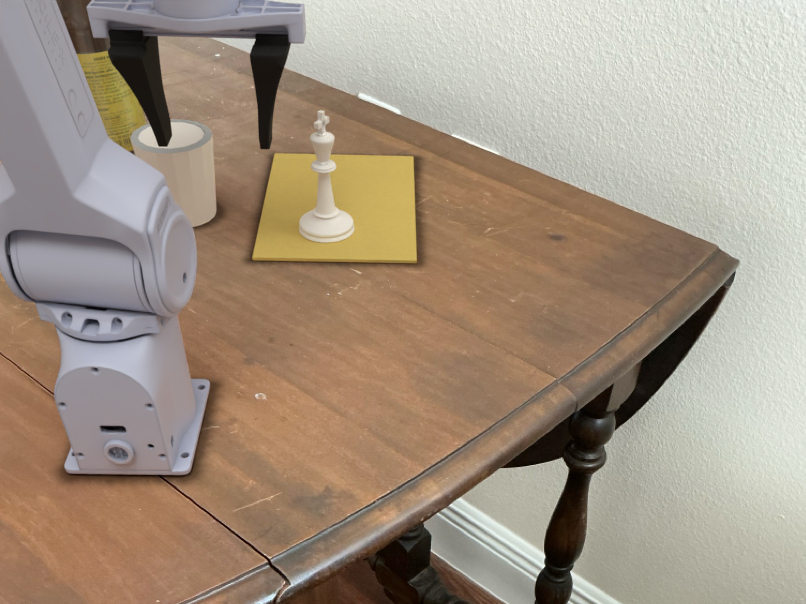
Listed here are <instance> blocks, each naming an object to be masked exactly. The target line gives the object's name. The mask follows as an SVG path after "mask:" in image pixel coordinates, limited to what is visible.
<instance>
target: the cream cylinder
mask: <svg viewBox="0 0 806 604" xmlns="http://www.w3.org/2000/svg"><path fill="white" fill-rule="evenodd" d="M170 121H171V129H172V137H171V139H170V142H169V144H168V146H167V147H159V146H158V143H157V141H156V138H155V135H154V133H153V130H152V128H151V126H150V123H149V122H148V123H147V124H146V125H143V126H141V127H139V128H138V129H136V130H135V131H133V133H132V135H131V137H130V139H131V143H132V146H133V149H134V152H135V156H137V157H138V158H140V159H142V160H143V161H145V162H146V163H148V164H149V165H151V166H152V167H154V168H155V169H157V170H158V171H160V172H161V173H162V174H163V175H164V176H165V178H166V181H167V184H168V187H169V190H170V192H171V194H172V196H173V199H174V200H175V202H176V203H177V204H178V205H179V206H180V207H181V208H182V210H183V211H184V213H185V215H186V216H187V217H188V219H189V221H190V223H191V225H192V227H193V228H195V227H199V226H202V225H204V224H206V223H209V222H210V221H211V220H212V219H214V218H215V217H216V214H217V210H218V209H217V208H218V207H217V195H216V194H217V192H216V191H217V190H216V174H215V156H214V154H215V153H214V135H213V132H212V130H211V128H210V127H209V126H207V125H206V124H203V123H202V122H200V121H196V120H191V119H185V118H184V119H181V118H178V119H177V118H170Z"/></svg>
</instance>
